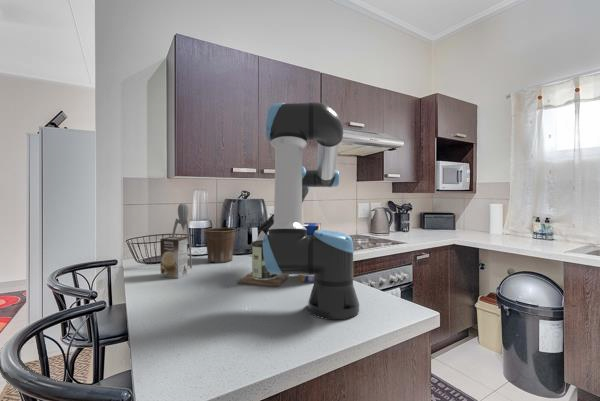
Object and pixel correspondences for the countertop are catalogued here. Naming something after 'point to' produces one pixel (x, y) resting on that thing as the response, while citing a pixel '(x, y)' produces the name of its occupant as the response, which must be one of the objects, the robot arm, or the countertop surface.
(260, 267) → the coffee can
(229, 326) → the countertop surface
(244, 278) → the walnut board
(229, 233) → the plant pot
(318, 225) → the beverage box
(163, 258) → the coffee box
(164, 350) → the countertop surface
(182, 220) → the citrus juicer
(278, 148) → the robot arm
